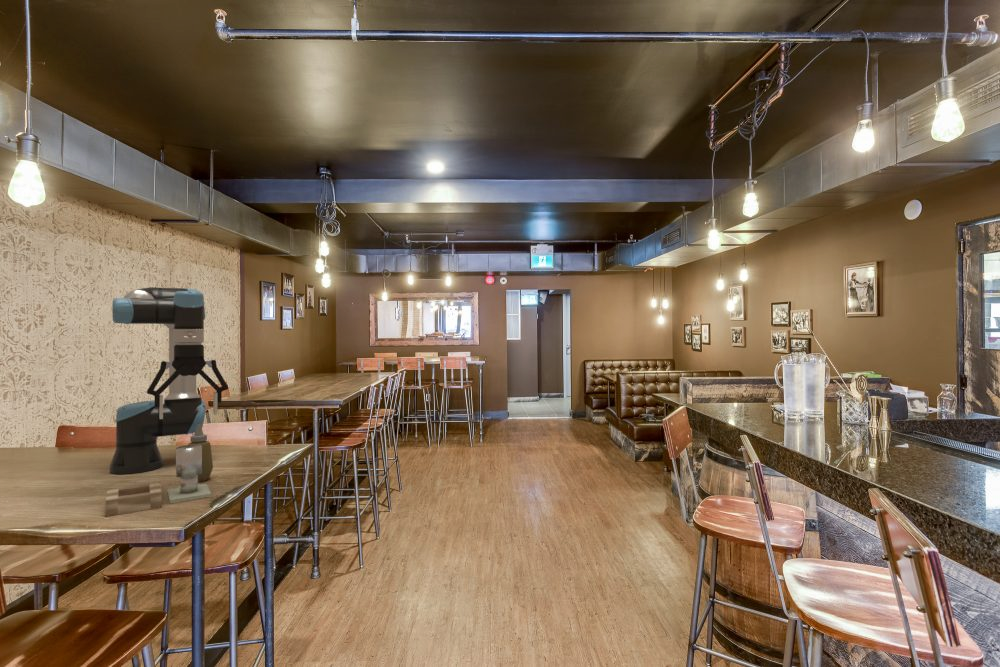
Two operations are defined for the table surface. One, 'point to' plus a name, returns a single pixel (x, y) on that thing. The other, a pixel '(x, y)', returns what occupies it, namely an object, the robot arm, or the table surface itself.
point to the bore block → (133, 499)
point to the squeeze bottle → (203, 452)
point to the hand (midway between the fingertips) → (189, 416)
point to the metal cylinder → (188, 467)
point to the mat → (176, 496)
